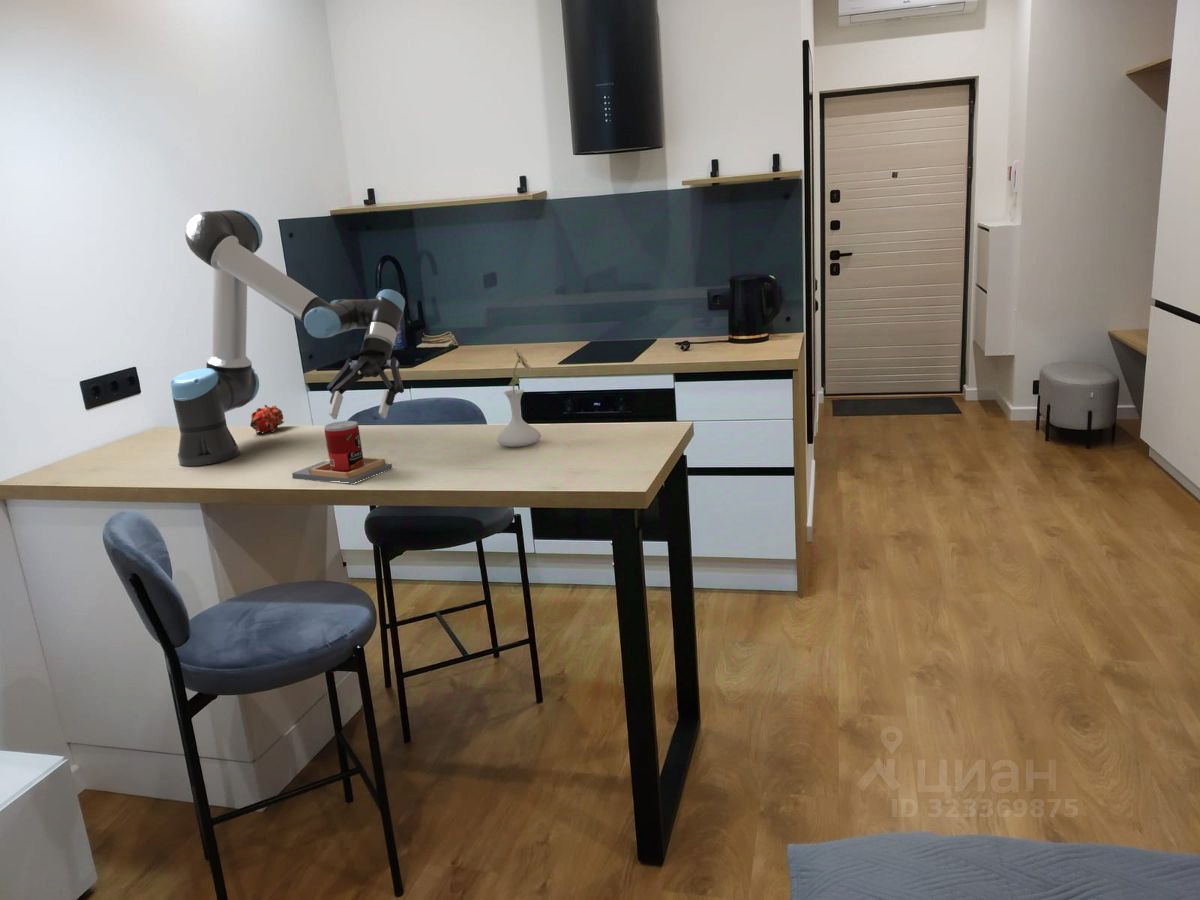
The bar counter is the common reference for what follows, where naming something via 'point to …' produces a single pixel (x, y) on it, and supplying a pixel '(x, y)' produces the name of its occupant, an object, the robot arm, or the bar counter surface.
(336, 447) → the canned food
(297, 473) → the plate
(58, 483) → the bar counter surface
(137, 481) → the bar counter surface
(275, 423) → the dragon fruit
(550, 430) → the bar counter surface
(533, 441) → the flower in vase
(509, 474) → the bar counter surface
